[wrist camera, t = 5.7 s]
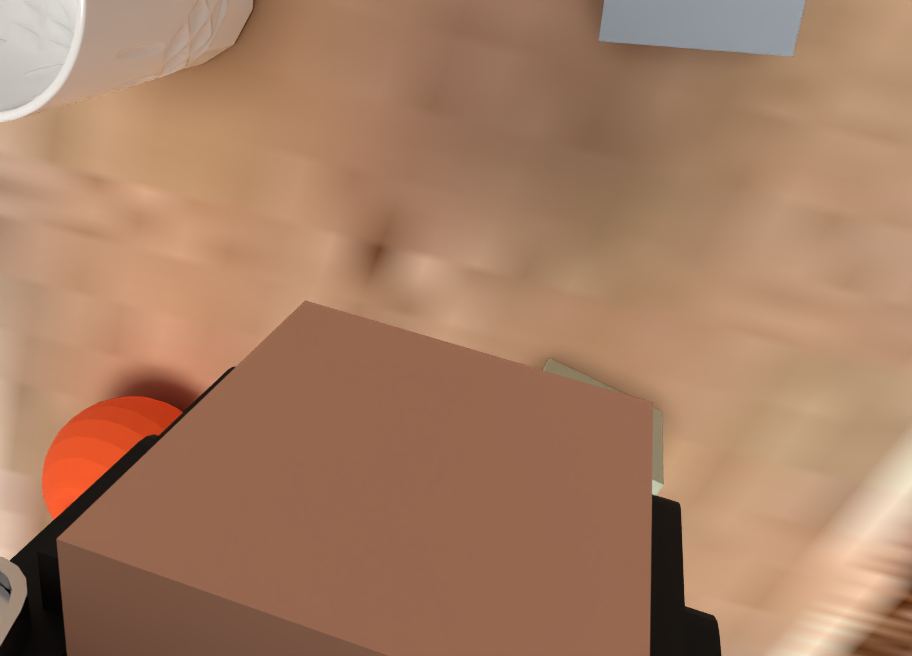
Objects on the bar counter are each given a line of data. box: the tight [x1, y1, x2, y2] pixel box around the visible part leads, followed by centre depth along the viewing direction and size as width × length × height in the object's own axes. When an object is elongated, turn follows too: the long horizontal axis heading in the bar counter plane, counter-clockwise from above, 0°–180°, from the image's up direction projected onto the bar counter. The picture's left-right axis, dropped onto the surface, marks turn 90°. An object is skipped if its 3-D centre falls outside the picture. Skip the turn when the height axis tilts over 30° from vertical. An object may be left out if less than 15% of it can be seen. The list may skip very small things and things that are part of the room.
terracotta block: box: [56, 301, 653, 656], centre depth 9 cm, size 5×5×5 cm
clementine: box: [42, 396, 183, 519], centre depth 33 cm, size 8×7×7 cm
